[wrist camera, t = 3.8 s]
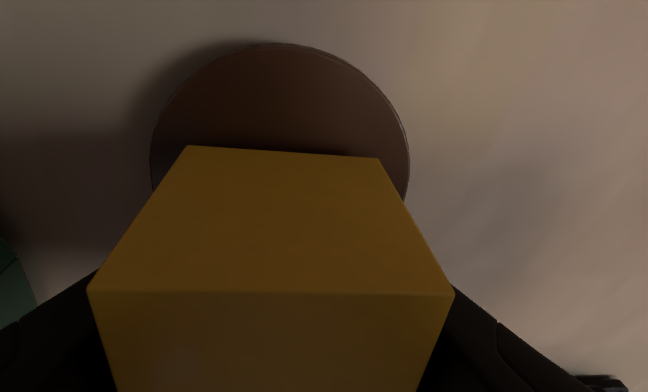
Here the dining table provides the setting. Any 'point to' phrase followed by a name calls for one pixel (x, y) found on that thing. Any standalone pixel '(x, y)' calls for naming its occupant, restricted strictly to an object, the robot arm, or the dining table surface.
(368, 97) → the brown oval paddle
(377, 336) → the block
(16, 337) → the robot arm
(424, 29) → the dining table surface
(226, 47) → the dining table surface
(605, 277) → the dining table surface
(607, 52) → the dining table surface
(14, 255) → the green pet bowl
